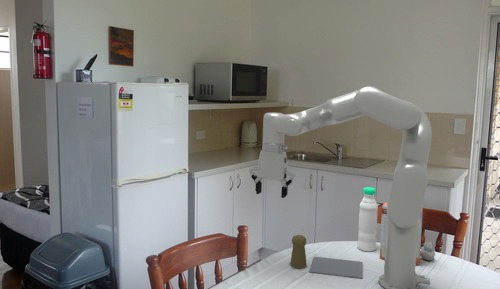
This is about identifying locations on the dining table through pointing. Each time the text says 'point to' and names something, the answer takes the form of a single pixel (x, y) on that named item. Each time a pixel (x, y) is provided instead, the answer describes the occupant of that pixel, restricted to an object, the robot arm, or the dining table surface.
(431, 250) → the rubber duck
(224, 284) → the dining table surface
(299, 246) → the cork
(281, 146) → the robot arm
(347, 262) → the rubber mat
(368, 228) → the water bottle
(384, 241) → the cracker box
